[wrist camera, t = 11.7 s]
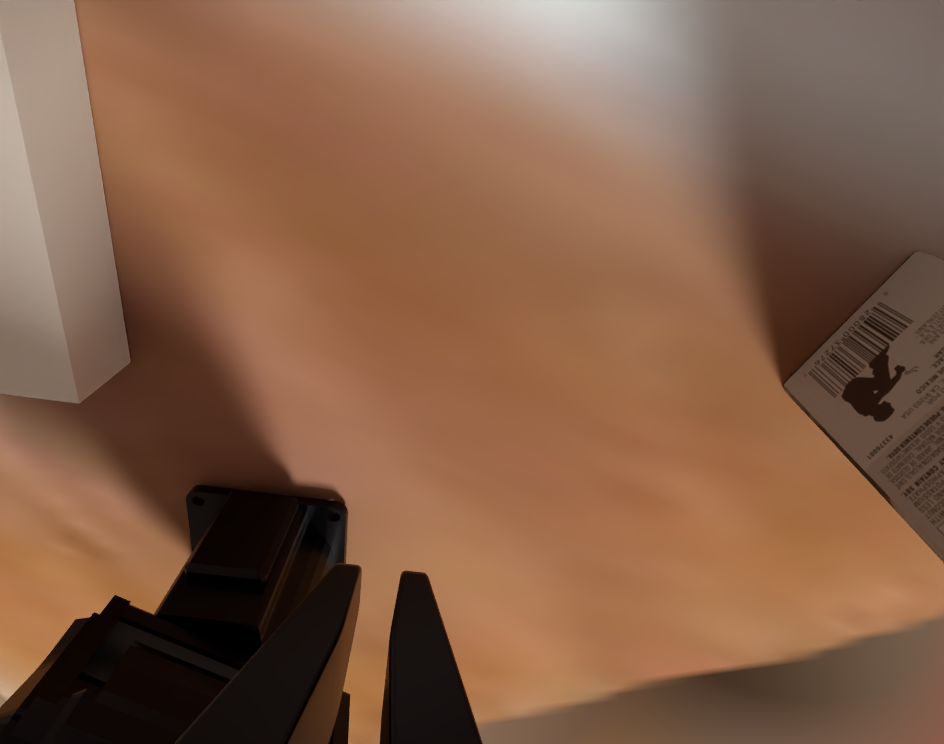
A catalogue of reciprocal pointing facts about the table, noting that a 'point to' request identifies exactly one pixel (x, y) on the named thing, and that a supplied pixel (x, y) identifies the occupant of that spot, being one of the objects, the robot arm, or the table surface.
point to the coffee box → (888, 393)
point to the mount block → (52, 215)
